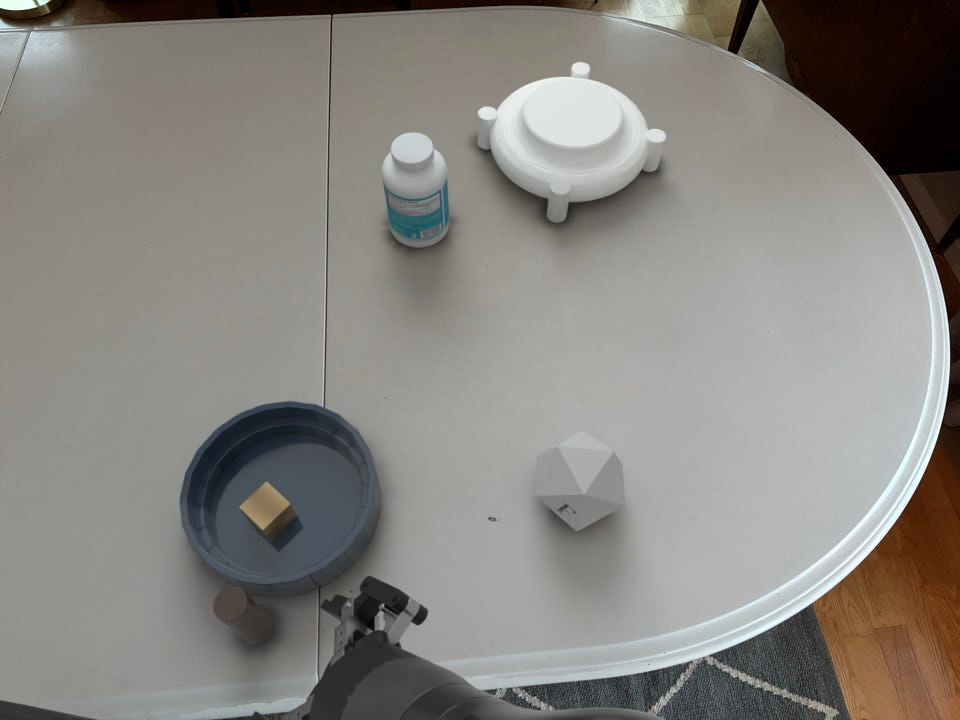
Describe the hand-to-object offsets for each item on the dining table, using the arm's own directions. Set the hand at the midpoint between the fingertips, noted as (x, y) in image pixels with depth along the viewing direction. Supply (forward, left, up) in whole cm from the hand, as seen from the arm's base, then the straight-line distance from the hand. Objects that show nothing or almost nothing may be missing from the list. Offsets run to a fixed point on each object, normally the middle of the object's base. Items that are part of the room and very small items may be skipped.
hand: (298, 664), depth 56 cm
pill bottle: (+44, +32, -17) cm, 57 cm away
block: (+7, +17, -16) cm, 24 cm away
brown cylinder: (-1, +10, -17) cm, 19 cm away
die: (+29, -4, -17) cm, 34 cm away
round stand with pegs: (+66, +26, -17) cm, 73 cm away
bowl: (+9, +17, -17) cm, 25 cm away
